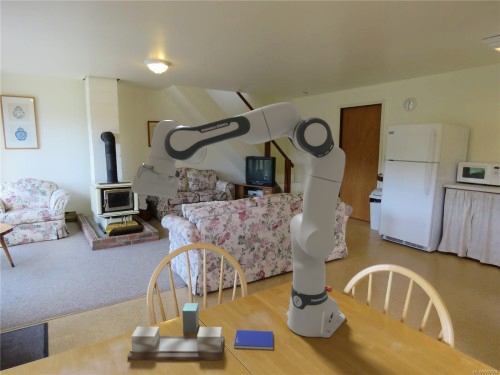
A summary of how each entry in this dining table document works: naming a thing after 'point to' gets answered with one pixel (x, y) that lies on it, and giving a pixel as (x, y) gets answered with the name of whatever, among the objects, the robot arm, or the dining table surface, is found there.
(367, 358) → the dining table surface
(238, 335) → the hard drive
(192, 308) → the block
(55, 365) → the dining table surface
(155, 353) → the board
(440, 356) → the dining table surface
